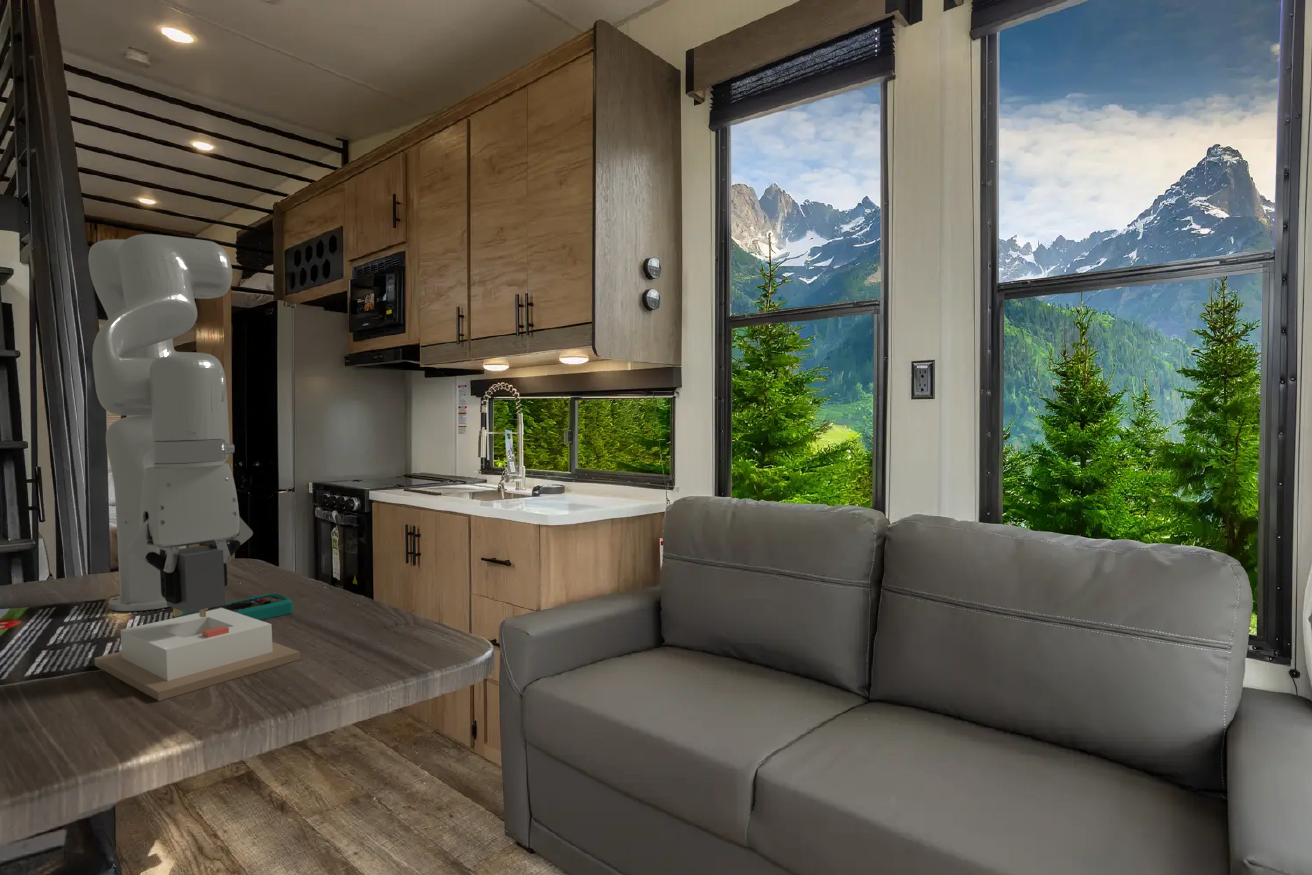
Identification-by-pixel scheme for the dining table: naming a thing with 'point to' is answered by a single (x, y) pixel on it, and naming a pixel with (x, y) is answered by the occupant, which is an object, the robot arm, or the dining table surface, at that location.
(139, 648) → the socket
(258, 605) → the digital multimeter
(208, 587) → the plug
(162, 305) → the robot arm
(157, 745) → the dining table surface
